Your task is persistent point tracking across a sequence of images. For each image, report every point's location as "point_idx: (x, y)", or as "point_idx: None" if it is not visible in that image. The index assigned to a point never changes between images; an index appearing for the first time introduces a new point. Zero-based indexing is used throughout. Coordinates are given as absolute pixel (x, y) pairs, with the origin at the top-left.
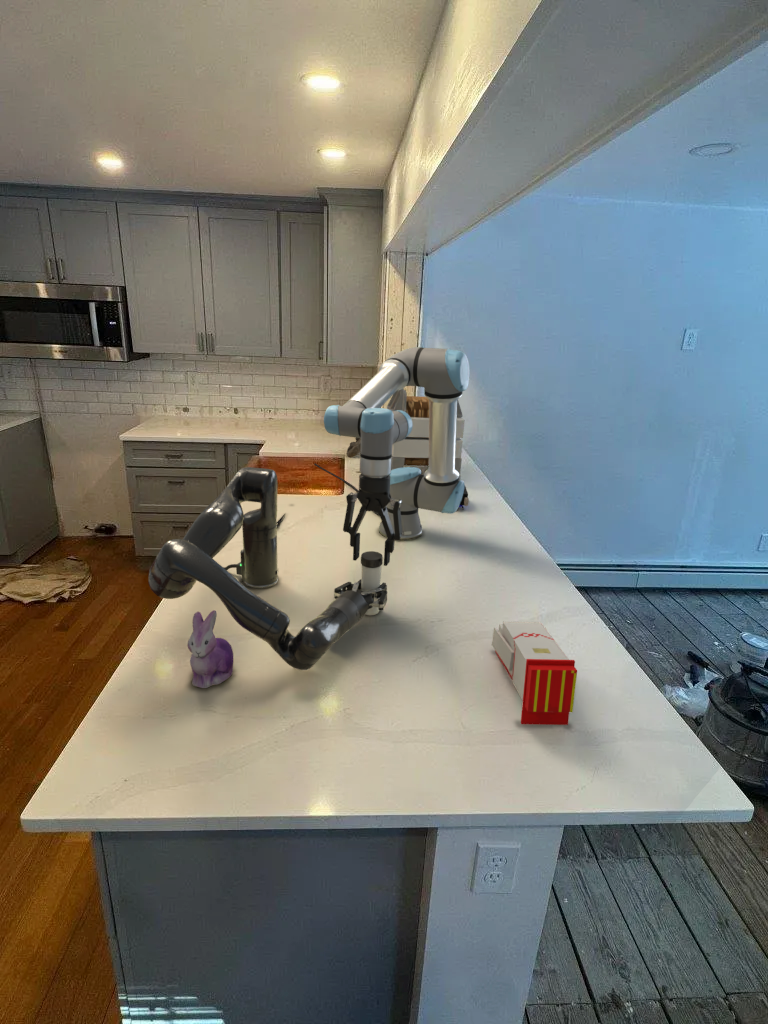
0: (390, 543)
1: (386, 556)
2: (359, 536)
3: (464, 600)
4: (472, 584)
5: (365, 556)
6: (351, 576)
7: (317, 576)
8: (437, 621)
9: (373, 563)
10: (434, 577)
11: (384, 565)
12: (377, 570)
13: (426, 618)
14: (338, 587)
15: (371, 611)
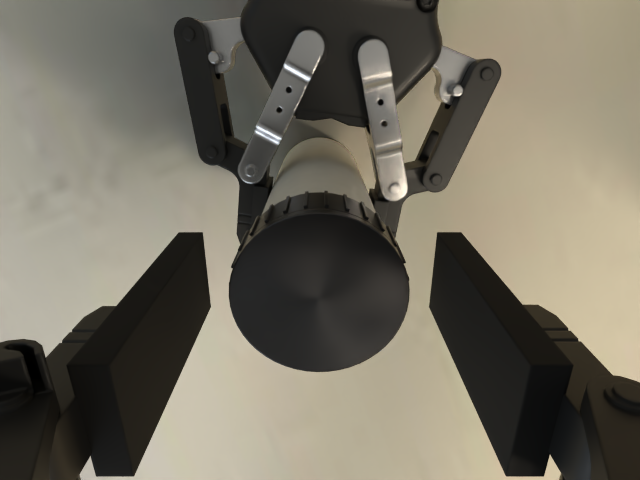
0: (64, 373)
1: (155, 268)
2: (495, 429)
3: None
4: None
5: (364, 261)
6: (464, 390)
7: (592, 350)
8: (43, 193)
9: (277, 212)
10: (182, 471)
11: (196, 232)
12: None
13: (90, 200)
14: (481, 100)
15: (299, 144)
